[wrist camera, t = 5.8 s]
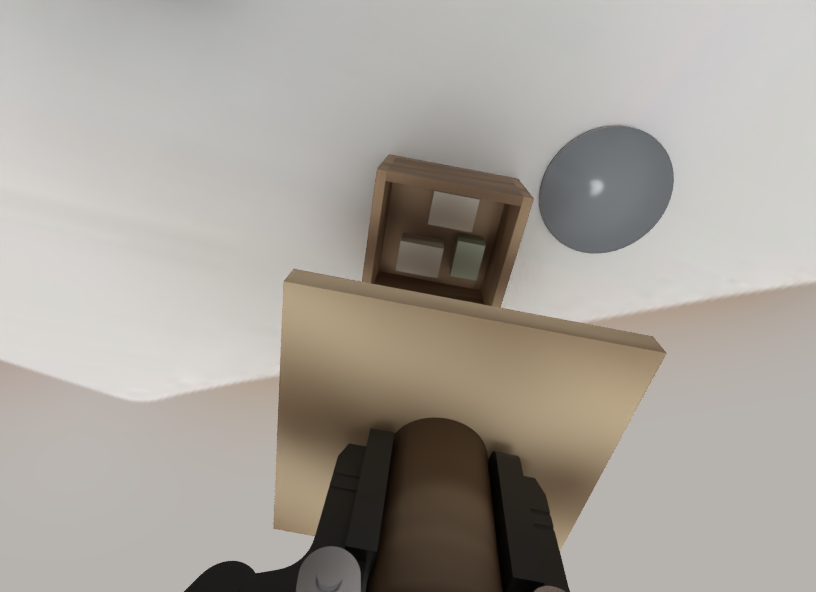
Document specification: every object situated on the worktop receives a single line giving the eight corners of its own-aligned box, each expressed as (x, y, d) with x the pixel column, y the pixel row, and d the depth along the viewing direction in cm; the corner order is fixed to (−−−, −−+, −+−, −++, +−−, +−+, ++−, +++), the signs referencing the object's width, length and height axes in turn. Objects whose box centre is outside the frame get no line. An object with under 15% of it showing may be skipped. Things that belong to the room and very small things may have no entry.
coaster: (562, 114, 29) (564, 114, 28) (692, 139, 29) (697, 140, 29) (524, 238, 33) (525, 241, 33) (638, 260, 33) (641, 263, 33)
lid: (304, 255, 12) (186, 400, 7) (637, 318, 12) (798, 513, 7) (289, 485, 17) (211, 689, 11) (535, 531, 17) (580, 756, 11)
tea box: (388, 154, 31) (376, 168, 26) (518, 179, 31) (533, 198, 26) (371, 273, 35) (358, 307, 30) (485, 295, 35) (492, 332, 30)
